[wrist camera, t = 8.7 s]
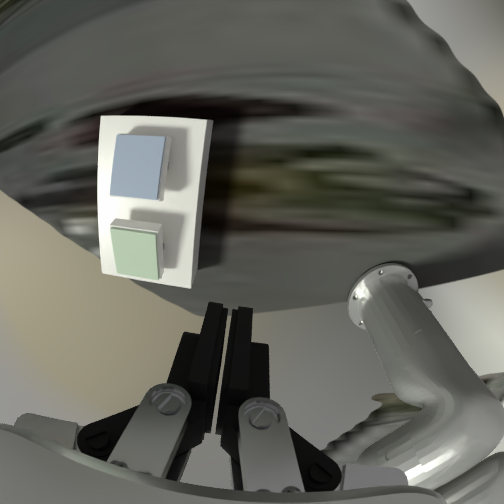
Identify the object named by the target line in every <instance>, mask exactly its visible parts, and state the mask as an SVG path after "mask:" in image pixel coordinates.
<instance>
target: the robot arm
mask: <svg viewBox="0 0 504 504" xmlns="http://www.w3.org/2000/svg"><path fill="white" fill-rule="evenodd" d="M431 306H432V300H430V299H423V298H422V297H421V295H420V294H419V293H418V282H417V279H416V277H415V275H414V274H413V273H412V271H411V270H410V269H408V268H407V267H406V266H404V265H401V264H397V263H386V264H382V265H378V266H376V267H374V268H372V269H370V270H369V271H367V272H366V273H364V274H363V275H362V276H361V277H360V278H359V279H358V280H357V281H356V283H355V284H354V286H353V287H352V289H351V291H350V293H349V296H348V301H347V308H348V313H349V315H350V318H351V320H352V321H353V322H354V323H355V324H356V325H357V326H358V327H360V328H362V329H365V330H367V332H368V334H369V336H370V339H371V341H372V343H373V345H374V348H375V350H376V352H377V354H378V357H379V359H380V362H381V364H382V366H383V369H384V371H385V373H386V376H387V378H388V380H389V383H390V385H391V387H392V390H393V392H394V393H395V394H396V396H397V397H398V398H399V399H401V400H402V401H404V402H406V403H408V404H411V405H414V406H418V407H422V408H423V409H422V411H421V412H420V413H418V414H417V415H416V416H415V417H413V418H412V419H411V420H410V421H408V422H407V423H405V424H404V425H402V426H401V427H399V428H397V429H396V430H394V431H393V432H391V433H389V434H388V435H386V436H384V437H383V438H381V439H380V440H378V441H376V442H375V443H373V444H371V445H370V446H368V447H367V448H366V449H365V450H364V451H363V452H362V453H361V454H360V455H359V457H358V459H357V461H356V464H349V463H346V464H345V465H339V464H337V463H336V462H335V461H333V460H332V459H331V458H329V457H328V456H327V455H325V454H324V453H322V452H321V451H320V450H318V449H317V448H316V447H314V446H313V445H312V444H310V443H309V442H308V441H307V440H305V439H304V438H303V437H301V436H300V435H299V434H297V433H296V432H295V431H293V430H292V429H291V428H290V427H289V426H288V422H287V418H286V414H285V411H284V409H283V408H282V407H281V406H280V405H279V404H278V403H277V402H275V401H273V400H271V399H270V390H269V389H270V387H269V386H270V383H269V345H268V344H263V343H255V342H251V336H252V316H253V308H247V307H240V306H239V307H238V310H235V309H233V310H232V317H231V323H230V330H229V337H228V344H227V351H226V357H225V365H224V371H223V378H222V385H221V393H220V402H219V409H218V417H217V425H216V433H215V434H218V435H221V447H222V448H223V449H224V450H225V451H226V452H227V453H228V454H229V467H230V477H231V486H232V490H229V489H219V488H213V487H206V486H199V485H193V484H188V483H182V482H180V480H181V477H182V475H183V472H184V469H185V467H186V464H187V462H188V459H189V456H190V454H191V450H192V448H194V447H195V446H197V445H199V444H201V443H202V440H204V434H205V433H211V427H212V419H213V413H214V406H215V400H216V394H217V387H218V381H219V374H220V367H221V361H222V353H223V345H224V337H225V328H226V321H227V314H228V308H223V304H220V303H214V302H209V303H208V307H207V311H206V314H205V318H204V322H203V325H202V329H201V333H200V334H195V333H189V332H184V333H183V335H182V338H181V341H180V344H179V347H178V350H177V353H176V356H175V359H174V362H173V365H172V368H171V371H170V374H169V377H168V380H167V383H163V384H158V385H155V386H154V387H152V388H150V389H149V391H148V392H147V393H146V394H145V396H144V398H143V400H142V401H141V403H140V405H138V406H135V407H133V408H130V409H128V410H125V411H123V412H120V413H117V414H115V415H112V416H110V417H107V418H104V419H101V420H99V421H96V422H93V423H90V424H88V425H86V426H79V425H78V424H77V423H75V422H70V421H64V420H59V419H54V418H50V417H45V416H41V415H36V414H31V413H26V414H23V415H21V416H20V417H19V418H17V420H16V422H15V425H14V426H13V425H8V424H3V423H0V504H504V452H498V453H495V454H493V455H491V456H489V457H487V456H488V455H489V454H490V453H491V452H492V451H493V450H494V449H495V448H496V446H497V445H498V444H499V443H500V441H501V439H502V438H503V436H504V408H503V406H502V404H501V402H500V401H499V400H498V398H497V397H496V396H495V394H494V393H493V392H492V391H491V390H490V389H489V388H488V387H487V386H486V384H485V383H484V382H483V381H482V380H481V379H480V378H479V377H478V375H477V374H476V373H475V372H474V371H473V369H472V368H471V367H470V366H469V364H468V363H467V361H466V360H465V359H464V357H463V356H462V355H461V353H460V352H459V350H458V349H457V348H456V346H455V345H454V343H453V342H452V340H451V339H450V338H449V336H448V335H447V333H446V332H445V331H444V329H443V328H442V326H441V325H440V324H439V322H438V321H437V319H436V318H435V317H434V315H433V314H432V312H431V311H430V310H429V309H428V307H431ZM485 457H487V458H486V459H484V458H485ZM483 459H484V460H483ZM480 461H481V462H480Z"/></svg>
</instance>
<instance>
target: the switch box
mask: <svg viewBox="0 0 504 504" xmlns="http://www.w3.org/2000/svg"><path fill="white" fill-rule="evenodd" d="M212 127H213V120H204V119H192V118H178V117H160V116H101V122H100V135H99V152H98V224H99V242H100V255H101V266H102V273H105V274H110V275H115V276H121V277H126V278H132V279H137V280H143V281H148V282H154V283H160V284H166V285H172V286H178V287H185V288H191V287H192V284H193V281H194V278H195V276H196V273H197V269H198V256H199V244H200V232H201V221H202V211H203V201H204V192H205V183H206V174H207V165H208V157H209V149H210V142H211V134H212ZM117 133H124V134H150V135H167V136H170V137H172V140H171V147H170V154H169V161H168V168H167V175H166V183H165V192H164V201H161V202H156V201H147V200H138V199H129V198H119V197H109V195H110V184H111V174H112V165H113V157H114V150H115V143H116V136H117ZM115 218H119V219H127V220H135V221H142V222H150V223H158V224H162V231H163V259H164V273H163V276H162V278H161V280H152V279H146V278H141V277H135V276H129V275H124V274H118V273H117V270H116V264H115V259H114V253H113V246H112V240H111V233H110V224H111V223H112V222H113V220H114V219H115Z"/></svg>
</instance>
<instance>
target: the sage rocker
mask: <svg viewBox="0 0 504 504" xmlns="http://www.w3.org/2000/svg"><path fill="white" fill-rule="evenodd" d="M110 233H111V240H112V246H113V253H114V259H115V264H116V270H117V273H118V274H124V275H129V276H135V277H141V278H146V279H152V280H161V278H162V276H163V273H164V259H163V231H162V224H158V223H150V222H142V221H135V220H127V219H119V218H115V219H114V220H113V222H112V223H111V224H110Z"/></svg>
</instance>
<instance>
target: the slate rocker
mask: <svg viewBox="0 0 504 504" xmlns="http://www.w3.org/2000/svg"><path fill="white" fill-rule="evenodd" d="M171 140H172V137H170V136H167V135H150V134H124V133H117V136H116V143H115V150H114V157H113V165H112V174H111V184H110V195H109V197H119V198H129V199H138V200H147V201H156V202H161V201H164V192H165V183H166V175H167V168H168V161H169V154H170V147H171Z"/></svg>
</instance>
